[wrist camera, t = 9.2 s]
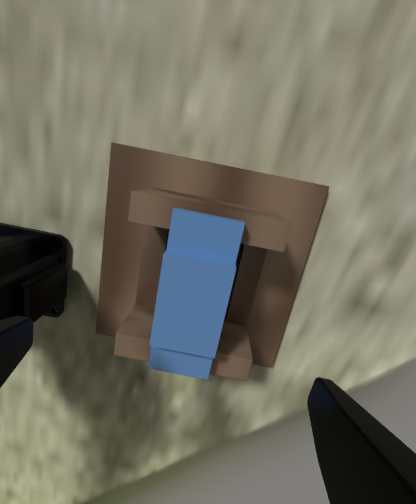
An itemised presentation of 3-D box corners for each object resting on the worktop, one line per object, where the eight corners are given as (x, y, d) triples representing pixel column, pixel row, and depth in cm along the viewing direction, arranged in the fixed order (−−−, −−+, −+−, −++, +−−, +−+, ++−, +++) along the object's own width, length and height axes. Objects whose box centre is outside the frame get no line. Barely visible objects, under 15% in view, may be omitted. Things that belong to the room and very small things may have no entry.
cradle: (98, 329, 21) (62, 375, 16) (114, 143, 17) (72, 129, 12) (270, 363, 21) (285, 418, 16) (326, 186, 17) (368, 190, 12)
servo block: (166, 318, 20) (144, 377, 14) (186, 199, 17) (170, 210, 11) (211, 327, 20) (207, 389, 14) (237, 209, 17) (246, 226, 11)
